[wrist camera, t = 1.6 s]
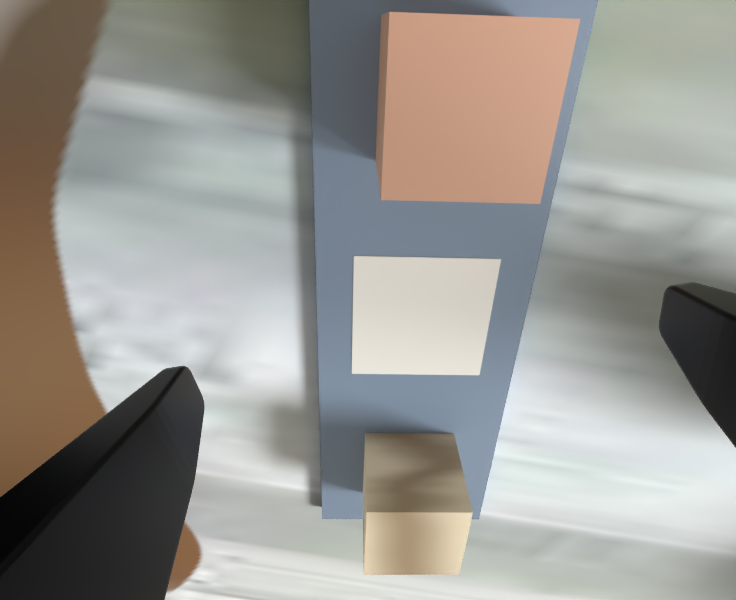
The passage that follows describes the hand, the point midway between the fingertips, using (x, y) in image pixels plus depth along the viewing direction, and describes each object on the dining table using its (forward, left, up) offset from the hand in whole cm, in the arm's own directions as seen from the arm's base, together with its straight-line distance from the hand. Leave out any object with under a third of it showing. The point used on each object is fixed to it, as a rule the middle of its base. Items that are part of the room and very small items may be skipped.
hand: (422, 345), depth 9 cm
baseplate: (-2, +7, -13) cm, 15 cm away
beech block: (-2, +17, -12) cm, 21 cm away
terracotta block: (-2, -3, -12) cm, 13 cm away
